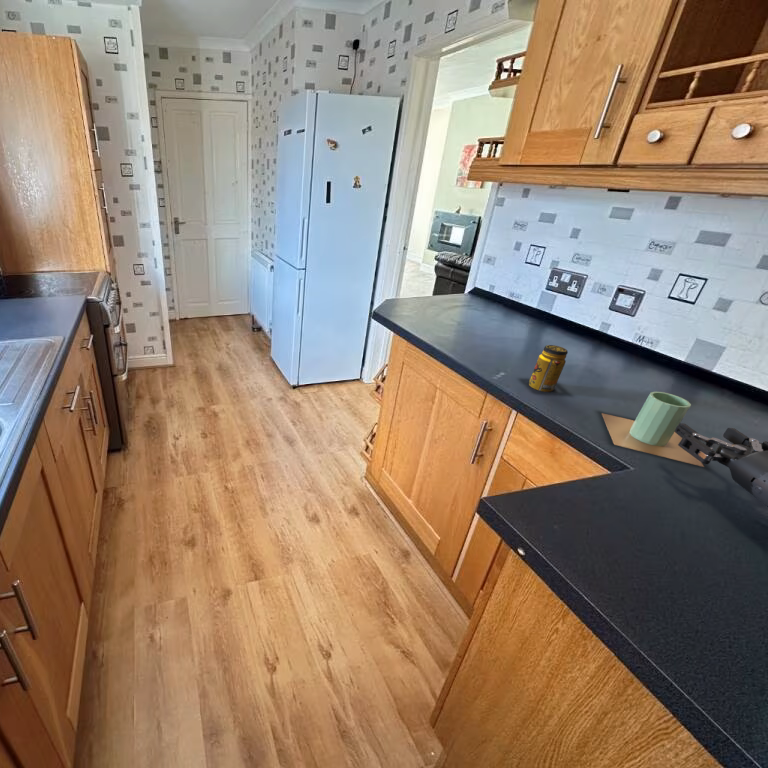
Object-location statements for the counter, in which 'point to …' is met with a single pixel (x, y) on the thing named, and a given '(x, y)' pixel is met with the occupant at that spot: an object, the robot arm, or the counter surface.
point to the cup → (659, 418)
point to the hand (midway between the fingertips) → (702, 429)
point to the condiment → (548, 368)
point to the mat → (623, 438)
